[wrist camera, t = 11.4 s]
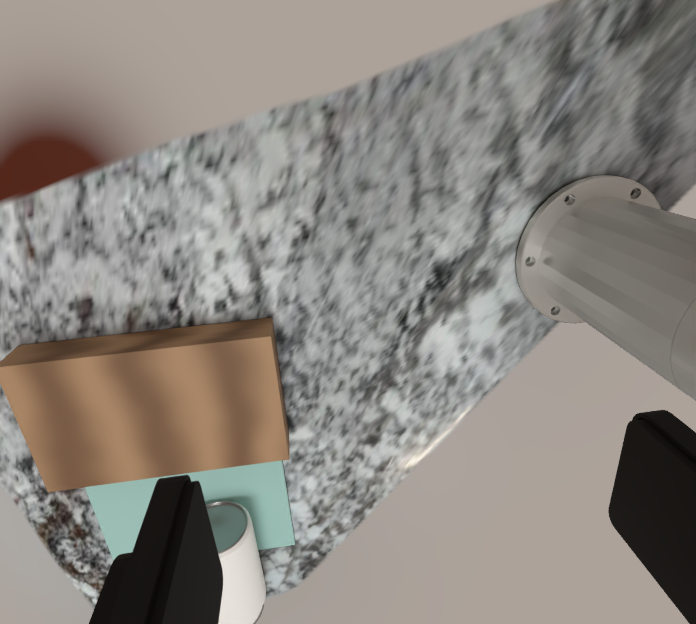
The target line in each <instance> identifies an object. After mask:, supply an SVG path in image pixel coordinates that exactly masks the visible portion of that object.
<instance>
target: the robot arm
mask: <svg viewBox="0 0 696 624" xmlns="http://www.w3.org/2000/svg"><path fill="white" fill-rule="evenodd" d="M565 197H566V199H565ZM527 258H528V259H527ZM526 259H527V260H526ZM516 273H517V279H518V282H519V286H520V289H521V291H522V292H523V294H524V296H525V298H526V299H527V300H528V301H529V303H530V304H531V305H532V306H533V307H534V308H536V309H537V310H538V311H539V312H541V313H542V314H543V315H545V316H547V317H549V318H551V319H553V320H557V321H561V322H565V323H582V322H586V323H588V324H589V325H591V326H592V327H593V328H595V329H596V330H598V331H599V332H600V333H602V334H603V335H604V336H606V337H607V338H609V339H610V340H611V341H613V342H614V343H616V344H617V345H618V346H620V347H621V348H623V349H624V350H625V351H627V352H628V353H630V354H631V355H633V356H634V357H635V358H637V359H638V360H639V361H641V362H642V363H643V364H645V365H646V366H648V367H649V368H651V369H652V370H653V371H655V372H656V373H658V374H659V375H660V376H662V377H663V378H664V379H666V380H667V381H669V382H670V383H672V384H673V385H674V386H676V387H677V388H678V389H680V390H681V391H683V392H684V393H685V394H687V395H689V396H690V397H692V398H693V399H694V400H696V219H693V218H689V217H686V216H682V215H678V214H675V213H671V212H667V211H664V210H662V209H661V206H660V204H659V203H658V201H657V199H656V198H655V196H654V195H653V194H652V193H651V192H650V191H649V190H648V189H647V188H646V187H645V186H643V185H641V184H639V183H638V182H636V181H634V180H631V179H627V178H623V177H619V176H611V175H599V176H591V177H587V178H584V179H580V180H577V181H575V182H573V183H571V184H569V185H567V186H565V187H563V188H562V189H560V190H559V191H557V192H556V193H555V194H553V195H552V196H550V197H549V198H548V199H547V200H546V201H545V202H544V203H543V204H542V205H541V206H540V207H539V208H538V210H537V211H536V212H535V214H534V215H533V217H532V218H531V219H530V221H529V222H528V224H527V226H526V228H525V230H524V232H523V234H522V237H521V240H520V243H519V246H518V250H517V258H516ZM609 517H610V520H611V522H612V524H613V526H614V527H615V529H616V530H617V531H618V533H619V534H620V535H621V537H622V538H623V539H624V540H625V542H626V543H627V544H628V545H629V547H630V548H631V549H632V551H633V552H634V553H635V554H636V556H637V557H638V558H639V560H640V561H641V562H642V563H643V565H644V566H645V567H646V568H647V570H648V571H649V572H650V573H651V575H652V576H653V577H654V579H655V580H656V581H657V582H658V584H659V585H660V586H661V588H662V589H663V590H664V592H665V593H666V594H667V595H668V597H669V598H670V599H671V600H672V602H673V603H674V604H675V606H676V607H677V608H678V609H679V611H680V612H681V613H682V614H683V616H684V617H685V618H686V619H687V621H688V622H689V623H690V624H696V433H695V432H694V431H693V430H692V429H690V428H689V427H688V426H687V425H685V424H684V423H683V422H682V421H680V420H679V419H678V418H677V417H675V416H674V415H673V414H671V413H670V412H668V411H665V410H659V411H651V412H644V413H639V414H636V415H635V416H634V417H633V420H632V421H630V422H629V423H628V425H627V428H626V433H625V437H624V442H623V447H622V451H621V455H620V460H619V465H618V469H617V474H616V478H615V483H614V487H613V492H612V496H611V502H610V505H609ZM222 591H223V571H222V566H221V562H220V558H219V554H218V550H217V547H216V543H215V539H214V535H213V531H212V527H211V523H210V519H209V515H208V511H207V508H206V504H205V500H204V496H203V492H202V488H201V485H200V482H199V481H192V482H191V479H190V477H189V475H181V476H174V477H167V478H160V479H159V480H157V483H156V485H155V488H154V491H153V493H152V496H151V499H150V502H149V505H148V508H147V511H146V514H145V517H144V520H143V523H142V525H141V528H140V531H139V534H138V537H137V540H136V543H135V546H134V549H133V552H131V553H124V554H120V555H118V556H117V557H116V558H115V559H114V561H113V563H112V565H111V567H110V570H109V572H108V575H107V578H106V580H105V583H104V585H103V588H102V591H101V593H100V596H99V599H98V601H97V604H96V606H95V609H94V612H93V614H92V617H91V620H90V622H89V624H218V622H219V614H220V607H221V599H222Z"/></svg>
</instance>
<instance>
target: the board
mask: <svg viewBox="0 0 696 624" xmlns="http://www.w3.org/2000/svg"><path fill="white" fill-rule="evenodd" d="M0 383H1V385H2V388H3V390H4V392H5V395H6V397H7V399H8V401H9V404H10V406H11V408H12V411H13V413H14V415H15V417H16V420H17V422H18V424H19V427H20V429H21V431H22V433H23V436H24V438H25V440H26V443H27V445H28V447H29V449H30V452H31V454H32V456H33V459H34V461H35V463H36V465H37V468H38V470H39V472H40V475H41V477H42V479H43V481H44V484H45V486H46V488H47V491H48V492H53V491H61V490H68V489H75V488H83V487H90V486H97V485H105V484H112V483H119V482H127V481H134V480H141V479H149V478H156V477H163V476H171V475H178V474H186V473H193V472H200V471H208V470H215V469H222V468H230V467H237V466H244V465H252V464H259V463H266V462H274V461H281V460H289V430H288V423H287V417H286V410H285V403H284V396H283V389H282V382H281V375H280V368H279V362H278V355H277V348H276V341H275V334H274V327H273V320H272V318H263V319H254V320H245V321H236V322H227V323H218V324H208V325H199V326H190V327H181V328H172V329H163V330H154V331H145V332H136V333H126V334H117V335H108V336H99V337H90V338H81V339H72V340H63V341H53V342H44V343H35V344H26V345H19V346H18V347H16V348H15V349H14V350H13V351H12V352H11V353H10V354H9V355H7V356H6V357H5V358H4V359H3V360H2V361H1V362H0Z"/></svg>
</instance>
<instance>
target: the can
mask: <svg viewBox="0 0 696 624" xmlns="http://www.w3.org/2000/svg"><path fill="white" fill-rule="evenodd" d="M206 508H207V511H208V515H209V519H210V523H211V527H212V531H213V535H214V539H215V543H216V547H217V550H218V554H219V558H220V562H221V566H222V571H223V591H222V599H221V607H220V614H219V622H218V624H255V623H256V622H257V621H258V619H259V617H260V615H261V613H262V610H263V607H264V601H265V596H266V587H265V581H264V576H263V571H262V566H261V561H260V557H259V552H258V547H257V543H256V538H255V534H254V529H253V525H252V521H251V517H250V514H249V512H248V511H247V509H246V508H245V507H243V506H242V505H240V504H238V503H236V502H232V501H215V502H212V503H209V504H206Z"/></svg>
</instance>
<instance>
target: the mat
mask: <svg viewBox="0 0 696 624" xmlns="http://www.w3.org/2000/svg"><path fill="white" fill-rule="evenodd" d="M181 475H189V477H190V479H191V482H192V481H199V482H200V485H201V488H202V492H203V496H204V500H205V504H209V503H212V502H215V501H232V502H236V503H238V504H240V505H242V506H243V507H245V508H246V509H247V511H248V512H249V514H250V517H251V521H252V525H253V529H254V534H255V538H256V543H257V547H258V550H263V549H270V548H276V547H283V546H289V545H295V538H294V532H293V525H292V519H291V513H290V506H289V500H288V494H287V487H286V481H285V475H284V468H283V462H282V460H281V461H274V462H266V463H259V464H252V465H244V466H237V467H230V468H222V469H215V470H208V471H200V472H193V473H186V474H178V475H171V476H163V477H156V478H149V479H141V480H134V481H127V482H119V483H112V484H105V485H97V486H90V487H85V489H86V491H87V494H88V497H89V499H90V502H91V504H92V507H93V509H94V512H95V514H96V517H97V519H98V522H99V525H100V527H101V530H102V532H103V535H104V537H105V540H106V542H107V545H108V548H109V550H110V553H111V555H112V558H113V560H114V559H115V558H116V557H117V556H118V555H120V554H124V553H131V552H133V549H134V546H135V543H136V540H137V537H138V534H139V531H140V528H141V525H142V523H143V520H144V517H145V514H146V511H147V508H148V505H149V502H150V499H151V496H152V493H153V491H154V488H155V485H156V483H157V480H159V479H160V478H167V477H174V476H181Z"/></svg>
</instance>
